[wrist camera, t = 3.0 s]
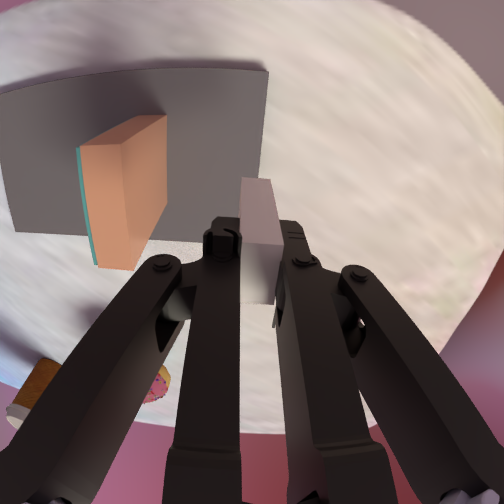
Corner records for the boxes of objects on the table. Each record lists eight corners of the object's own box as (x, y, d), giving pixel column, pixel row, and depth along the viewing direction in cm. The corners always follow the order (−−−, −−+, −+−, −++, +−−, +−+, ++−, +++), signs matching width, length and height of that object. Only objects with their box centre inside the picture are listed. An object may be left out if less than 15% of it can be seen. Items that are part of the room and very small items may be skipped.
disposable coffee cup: (90, 390, 42) (71, 453, 32) (48, 383, 42) (27, 439, 32) (63, 353, 37) (35, 422, 26) (20, 348, 37) (-8, 407, 27)
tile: (137, 201, 24) (93, 267, 16) (134, 115, 20) (74, 146, 12) (167, 202, 24) (133, 270, 16) (166, 114, 20) (120, 144, 12)
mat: (20, 227, 25) (15, 231, 25) (0, 94, 18) (-7, 96, 17) (250, 239, 27) (251, 245, 26) (268, 71, 19) (269, 71, 19)
